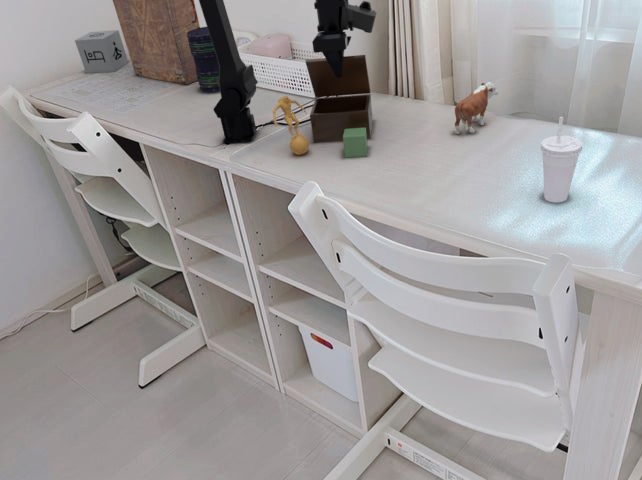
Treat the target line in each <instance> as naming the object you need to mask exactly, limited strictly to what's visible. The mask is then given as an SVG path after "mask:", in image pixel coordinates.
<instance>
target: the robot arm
mask: <svg viewBox="0 0 642 480" xmlns="http://www.w3.org/2000/svg"><path fill="white" fill-rule="evenodd" d="M198 2H199V6H200V9H201V12H202V15H203V18H204V22H205V25H206V27H207V28H208V31H209V34H210V37H211V41H212V44H213V47H214V50H215V53H216V56H217V60H218V63H219V86H220V92H219V93H220V99H219V100H218V102H217V103H216V104H215V106H214V107H213V109H212V110H213V112H214V113H215V115H216V117H217V119H220V123H221V127H222V132H223V137H224V138H223V140H222V143H223V144H236V143H249V142H252V141H253V139H254V137H255V135H256V133H257V127H256V121H255V117H254V114H253V113H251V109H250V107H249V105H251V101H252V98H253V97H254V96H255V94H256V92H257V84H258V83H259V81H258V80H257V78H256V76H255V71H254V66H253V64H249V65H246V64H245V62H244V61H243V60H242V58H241V56H240V53H239V50H238V46H237V42H236V38H235V35H234V33H233V29H232V26H231V22H230V18H229V16H228V12H227V8H226V5H225V1H224V0H198ZM313 7H314V10H316V15H317V22H318V23H317V27H316V29H317V34H316V35H315V37H314V38H313V40H312V42H311V43H312V51H313V53H316V54H319V53H322V56H324V58H326V59H327V61H328V63H329V65H330V66H331V68H332V70H333V72H334V73H335V75H336V77H342V71H343V60H344V56H345V51H346V50H347V48H348V47H349V45H350V42H351V40H352V36H351V35H347V33H346V31H348V30H349V31H350V32H353V31H354V30H355V29H357V30H361V31H363V33H368V34H371V33H372V32H373V28H374V25H375V21H376V16H377V12H376V10H373V9H372V4H371V2H369V1H366V0H363V1H362V2H360V5H357V4H355V5H353V4H350V3H349V0H315V1H314V4H313Z"/></svg>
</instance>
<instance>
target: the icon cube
mask: <svg viewBox="0 0 642 480" xmlns="http://www.w3.org/2000/svg"><path fill="white" fill-rule="evenodd" d="M74 43H75V45H76V48H77V51H78V53H79V57H80V59H81V63H82V65H83V68H84V71H85V73H86V74H92V73H93V74H95V73H111V72H116V71H118V70H119V69H120V68H122V67H123V66H125V65H126V64H128V63H129V60H128V56H127V53H126V49H125V47H124V44H123V40H122V37H121V33H120V30H119V29H115V30H114V29H113V30H99V31H90V32H88V33H86V34H84V35H82V36H80V37H78V38H76V39H75V40H74Z"/></svg>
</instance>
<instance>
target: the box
mask: <svg viewBox="0 0 642 480" xmlns="http://www.w3.org/2000/svg"><path fill="white" fill-rule="evenodd" d="M371 95H372V94H371V93H368V94H355V95H341V96H327V97H315V99H314V102H313V105H312V108H311V110H310V113H309V119H310V126H311V133H312V140H313V141H312V142H313V144H314V143H331V142H343V135H344V130H345V129H351V128H366V135H367V140H371V139H372V131H373V129H372V128H373V122H374V120H373V108H372V96H371Z"/></svg>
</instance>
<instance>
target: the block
mask: <svg viewBox="0 0 642 480" xmlns="http://www.w3.org/2000/svg"><path fill="white" fill-rule="evenodd" d="M342 143H343V151H344V158H345V159H347V158H359V157H360V158H361V157H363V158H364V157H367V156H368V155H367V154H368V139H367V135H366V128H351V129H345V130H344V135H343V141H342Z"/></svg>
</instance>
